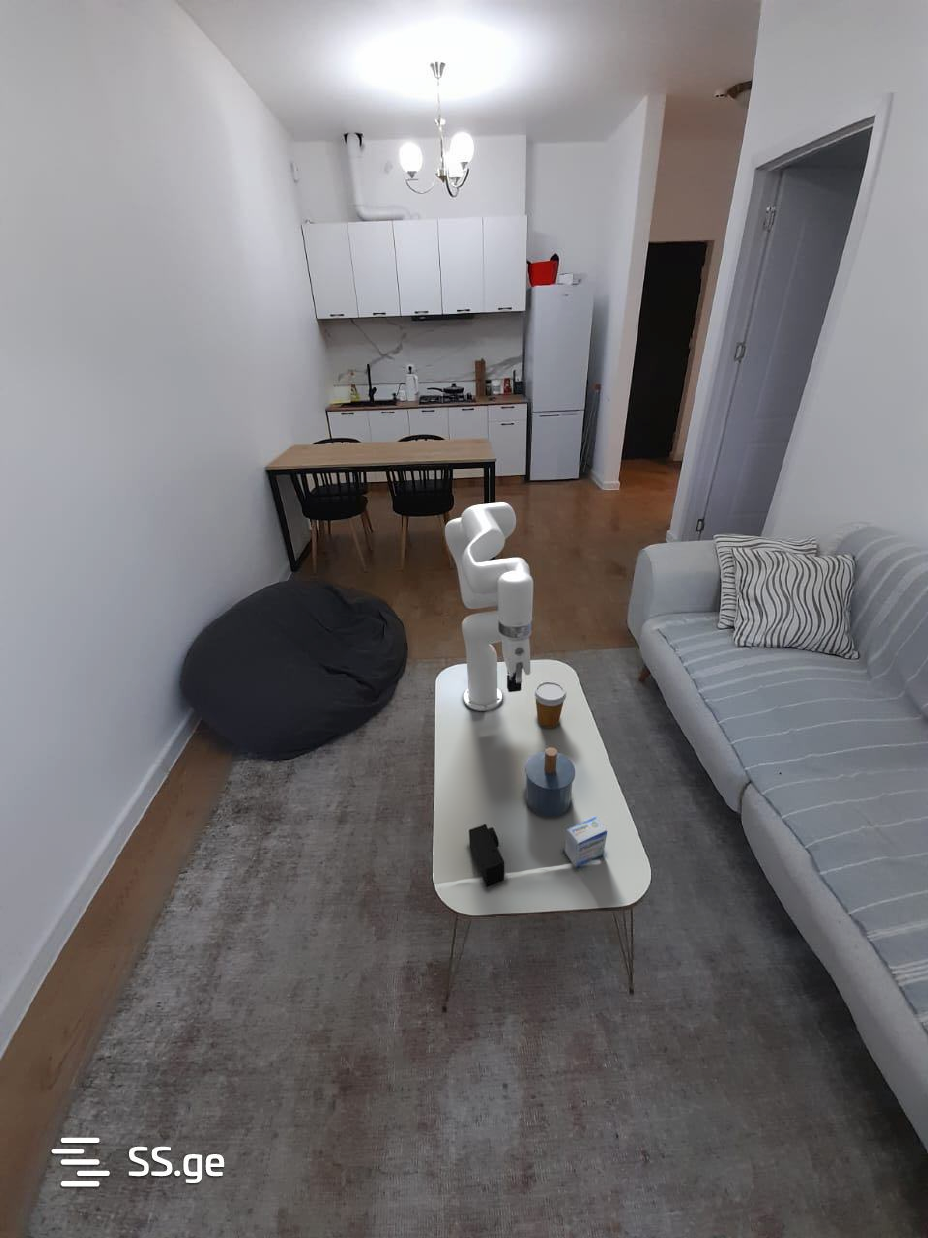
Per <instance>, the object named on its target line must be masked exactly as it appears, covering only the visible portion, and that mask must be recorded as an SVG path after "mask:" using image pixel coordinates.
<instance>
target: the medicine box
mask: <svg viewBox="0 0 928 1238" xmlns="http://www.w3.org/2000/svg"><path fill="white" fill-rule="evenodd" d="M607 837H608V829H606V827H605V826H604V825H603V824H602V822H601V821H600V820H599V818H598V817H597V816H594V817H592V818H589V819H587V820H585V821H582V822H580V823H578V824H576V825H573V826H571V827H569V828H567V829H566V836H565V846H564V853H565V854H566V856H567V857H568V858H569V860H570V861H571V864H572V865H573V866H574V867H575V868H578V867H580V866H582V865H584V864H586V863H588V862H590V861H592V860H593V859H596V858H597V857H601V856H603V855H604V854H605V848H606V843H607Z"/></svg>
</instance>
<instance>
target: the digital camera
mask: <svg viewBox="0 0 928 1238" xmlns="http://www.w3.org/2000/svg"><path fill="white" fill-rule="evenodd" d="M468 840H469V849H470V851H471V853H472V856H473V858H474V861H475V863H476V866H477V868H478V870H479V873H480V874H481V878H482V881H483V884H485V887H486V888H490V887H492V886H493V887H494V886H496V885H498V884H500V883H503V882H504V881H505V861H504V858H503V857H502V855H501V852H500V850H499V847H500V841H499V838H498V835H497V832H496V830H495V828H494V827H493V826H492V827H488V825H487V823H484V824H482V825H478V826H475V827H472V828H470V829H468Z"/></svg>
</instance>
